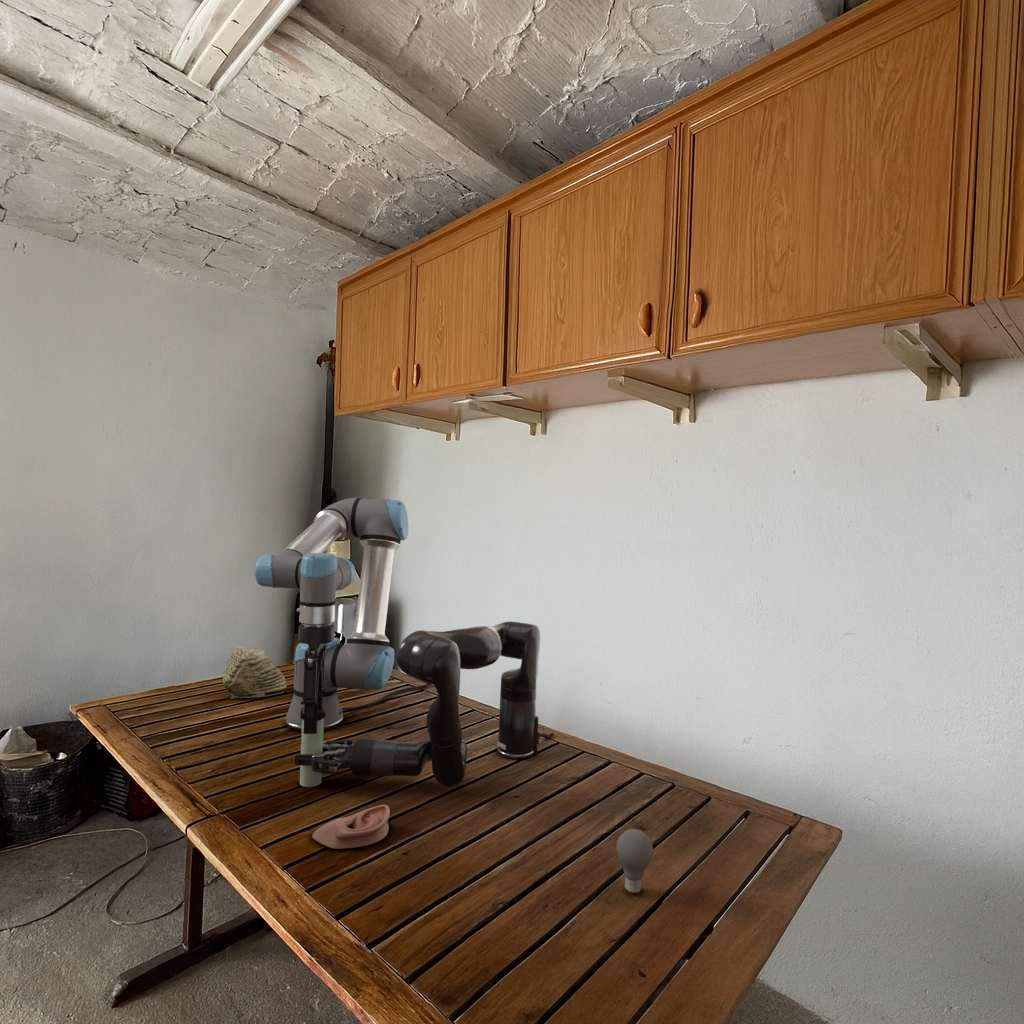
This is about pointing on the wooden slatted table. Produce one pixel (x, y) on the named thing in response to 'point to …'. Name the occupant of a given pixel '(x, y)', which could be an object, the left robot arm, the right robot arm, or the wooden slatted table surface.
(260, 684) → the fossil
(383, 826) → the anatomical model
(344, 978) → the wooden slatted table surface
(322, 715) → the lid
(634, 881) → the light bulb
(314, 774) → the pale green cylinder
